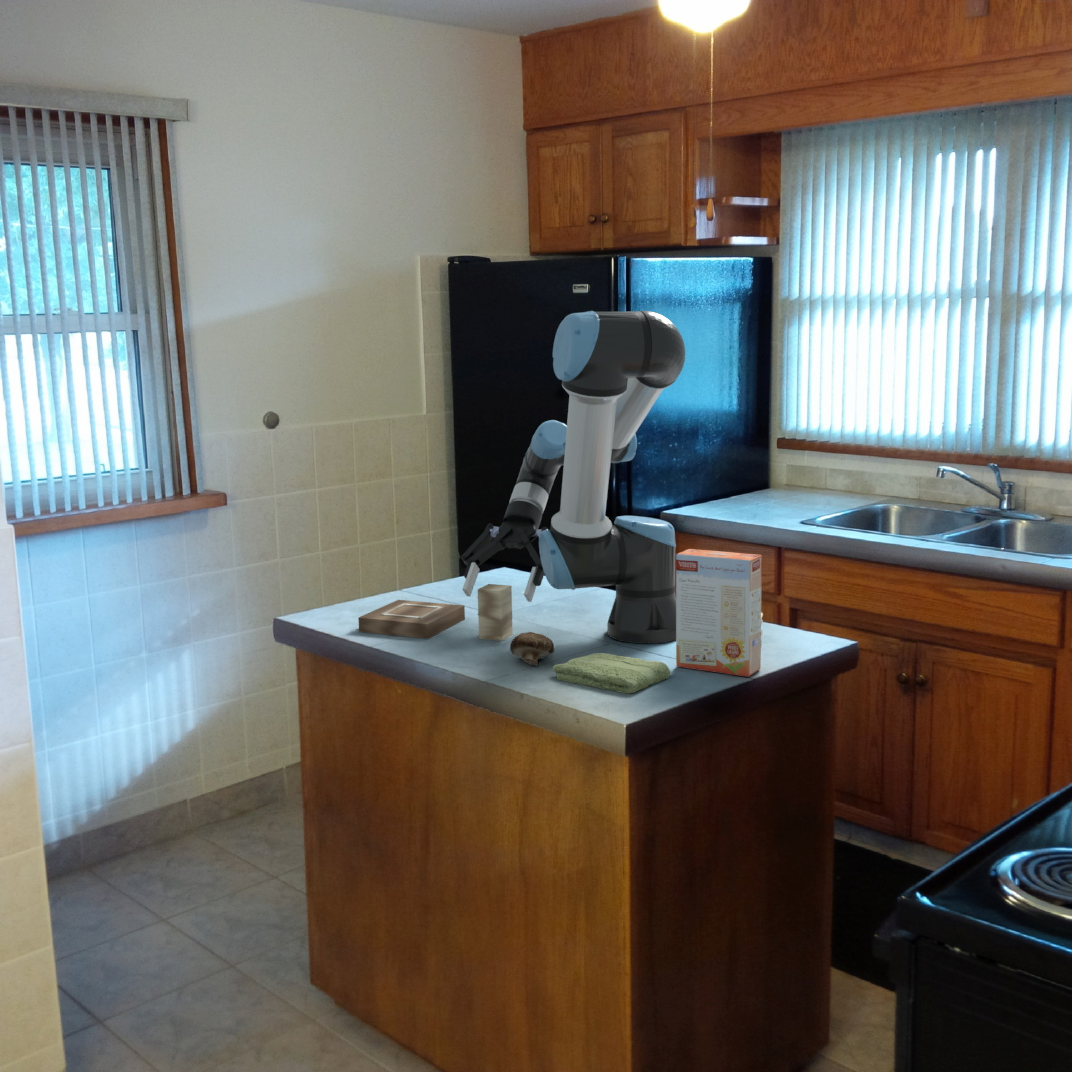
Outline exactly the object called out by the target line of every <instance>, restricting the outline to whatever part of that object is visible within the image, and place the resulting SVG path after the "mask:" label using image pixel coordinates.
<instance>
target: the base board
mask: <svg viewBox="0 0 1072 1072" xmlns="http://www.w3.org/2000/svg"><path fill="white" fill-rule="evenodd" d="M465 606H466V605H463V604H452V603H442V602H441V603H440V602H429V601H428V602H427V601H417V600H416V601H415V600H407V599H405V600H404V599H396V600H395V601H392V602H390V603H387V604H386V605H383V606H381V607H379V608H377V609H374V610H372V611H370V612H368V613H365V614H363V615H361V616H359V617H358V618H357V619H358V633H364V634H366V633H367V634H376V635H387V636H397V637H406V638H418V639H426V640H427V639H428V640H429V639H430V638H431V639H432V638H433V637H435V636H437V635H438V634H440V633H442V632H444V631H446V630H447V629H450V628H451V627H454V626H455V625H457V624H458V623H461V622H462V621H464V620H465V619H466V615H465V614H466V612H465V611H466V609H465Z"/></svg>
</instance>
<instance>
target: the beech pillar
mask: <svg viewBox="0 0 1072 1072" xmlns="http://www.w3.org/2000/svg"><path fill="white" fill-rule="evenodd" d="M512 594H513V592H512V585H509V584H507V585H505V584H494V583H488V584H485V585H484V586H482V587H479V588H478V589H477V612H478V613H477V614H478V615H477V616H478V618H477V619H478V639H480V640H489V641H498V642H499V641H500V642H502V641H505V640H506V639H508V638H510V637H511V636H513V635H514V634H513V632H514V631H513V598H512V596H513V595H512Z"/></svg>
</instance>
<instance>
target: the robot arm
mask: <svg viewBox="0 0 1072 1072" xmlns="http://www.w3.org/2000/svg"><path fill="white" fill-rule="evenodd" d="M552 358H553V360H552V361H553V362H552V367H553V372H554V374H555V376H556V378H557V379H558V380H561V386H562V388H563V389H564V390H565V392H566V393H567V394H568V395H569V398H568V409H567V411H568V412H567V421H566V423H564V422H561V421H558V420H555V419H551V420H547V421H544V422H542V423H541V424H540V425H539V426H538V427H537V429H536V430H535V432H534V434H533V435H532V438H531V441H530V444H529V447H528V448H527V451H526V453H525V454H524V457H523V460H522V464H521V467H520V470H519V473H518V477H517V479H516V482H515V485H514V487H513V490H512V493H511V495H510V499H509V503H508V505H507V507H506V509H505V514H504V516H503V520H502V521H503V522H502V523H501V525H500V526H494V525H493V524H492V523H490V522H489V523H487V525H486V526H485V529H484V531H483V532H482V533H481V534H480V535H479V537H477V539H475V540H474V542H473V543H472V544H470V546H469V547H468V548H467V549H466V550H465V551H464V553H462V554H461V557H460V558H461V560H462V561H463V563H464V564H465V566H466V568H465V571H464V573H463V576H464V578H465V581H464V584H463V586H462V588H461V590H462V591H463V593H464V594H465V596H466V597H469V598H470V597H471V595H472V593H473V590H474V586H475V584H476V582H477V578H478V576H479V573H480V568H479V566H481V565H482V564H484V563H485V562H486V561H488V559H490V558H492V557H493V556H494V555H495V554H497V553H498V552H500V551H503V550H505V549H506V548H507V549H517V550H522V549H523V548H526V550H527V551H528V553H529V554H530V556H531V558H532V560H533V562H534V563H535V565H536V566H532V568H531V571H530V575H529V577H528V580H527V583H526V586H525V590H524V593H523V595H524V597H525V598H526V601H527V602H528V603H529V602H530V603H532V601H533V598H534V594H535V592H536V589H537V587H540V586H541V585H542V582H543V579H544V577H545V578H546V580H547V583H548V584H549V585H550V586H551V587H552V588H553V589H554V590H555V589H556V590H572V591H575V590H576V589H585V588H586V589H587V588H598V587H599V588H600V587H608V586H615V598H614V600H613V604H612V607H611V610H610V614H609V615H608V616H609V617H608V620H607V626H606V627H607V629H606V630H607V632H606V633H607V636H609V637H610V638H611V639H614V640H616V641H621V642H625V643H633V644H659V643H667V642H673V641H675V640H676V547H677V544H676V536H675V535H676V534H675V531H676V530H675V527H674V526H673V525H672V524H671V523H670V522H668V521H667V520H663V519H659V518H654V517H647V516H638V515H620V516H616V517H615V520H614V522H613V523H612V521H611V520H610V519H609V518H610V517H608V516H606V510H607V500H608V492H609V491H608V490H609V480H610V472H611V471H610V470H611V464H619V463H621V462H622V463H623V462H630V461H633V459H634V458H635V456H636V451H637V448H638V439H637V434H636V433H637V431H638V430H639V428H640V427H641V425H642V424H643V422H644V420H645V419H646V417H647V415H648V414H649V412H650V411H651V410H652V407H653V406H654V405H655V403H656V402H657V401H658V398H659V397H660V396H661V395H662V393H663V391H664V389H667V388H669V387H671V386H672V385H673V384H674V383H675V382H676V381H677V379H678V378H679V376H680V374H681V373H682V371H683V368H684V365H685V362H686V346H685V342H684V339H683V337H682V334H681V332H680V331H679V329H678V327H677V326H676V325H675V324H674V323H673V322H672V321H671V320H670V319H668V318H667V317H665V316H664V315H662V314H660V313H658V312H654V311H650V310H636V311H635V310H634V311H633V310H632V311H631V310H630V311H628V310H627V311H594V310H588V311H583V312H573V313H570V314H568V315H566V316H565V317H564V319H563V320H561V322H560V324H558V328H557V329H556V332H555V337H554V341H553V347H552ZM561 466H563V470H562V483H561V495H560V507H559V511H558V512H556V513H555V514H553V515H552V517H551V521H550V529H548V527H547V526H542V527H541V529H539V527H540V525H541V521H542V518H543V514H544V511H545V509H546V506H547V503H548V500H549V496H550V493H551V490H552V487H553V485H554V481H555V479H556V476H557V475H558V472H559V470H560V469H561ZM613 524H614V525H613ZM537 537H538V549H539V555H538V553H537V551H536V550H535V548H534V546H533V544H532V543H531V542H533V541H534V540H535V539H536V538H537ZM501 541H502V542H501ZM539 556H540V557H539ZM544 575H545V576H544Z"/></svg>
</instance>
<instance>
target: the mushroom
mask: <svg viewBox="0 0 1072 1072" xmlns="http://www.w3.org/2000/svg"><path fill="white" fill-rule="evenodd" d="M554 644H555V643H554V642H553V640H552V639H551V638H549V637H548V636H546V635H544V634H541V633H538V632H537V633H535V632H533V631H528V632H521V633H520V634H517V635H515V636H514V638H512V640H511V642H510V645H509V649H510V653H511V654H512V655H513V656H514V657H516V658H519V659H522V660H523V662H525V663H527V664H529V665H531V666H532V665H533V666H538V660H540V659H545V658H549V657H550V656H552V655H553V653H554V651H555V645H554Z"/></svg>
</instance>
